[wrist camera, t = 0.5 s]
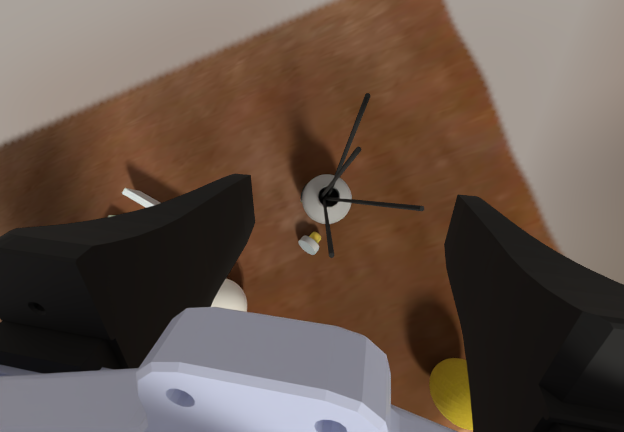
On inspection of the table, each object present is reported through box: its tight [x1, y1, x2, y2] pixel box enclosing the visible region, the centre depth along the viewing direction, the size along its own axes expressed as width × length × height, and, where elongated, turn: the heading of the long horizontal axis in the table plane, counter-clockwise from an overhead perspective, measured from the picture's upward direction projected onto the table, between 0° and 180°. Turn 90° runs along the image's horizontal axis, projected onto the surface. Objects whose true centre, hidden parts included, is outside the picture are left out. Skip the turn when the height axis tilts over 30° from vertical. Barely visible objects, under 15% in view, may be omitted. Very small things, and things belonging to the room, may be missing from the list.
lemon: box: [429, 358, 473, 430], centre depth 32 cm, size 6×6×8 cm
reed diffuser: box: [299, 93, 424, 258], centre depth 27 cm, size 10×7×20 cm
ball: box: [211, 279, 247, 312], centre depth 34 cm, size 6×6×6 cm
